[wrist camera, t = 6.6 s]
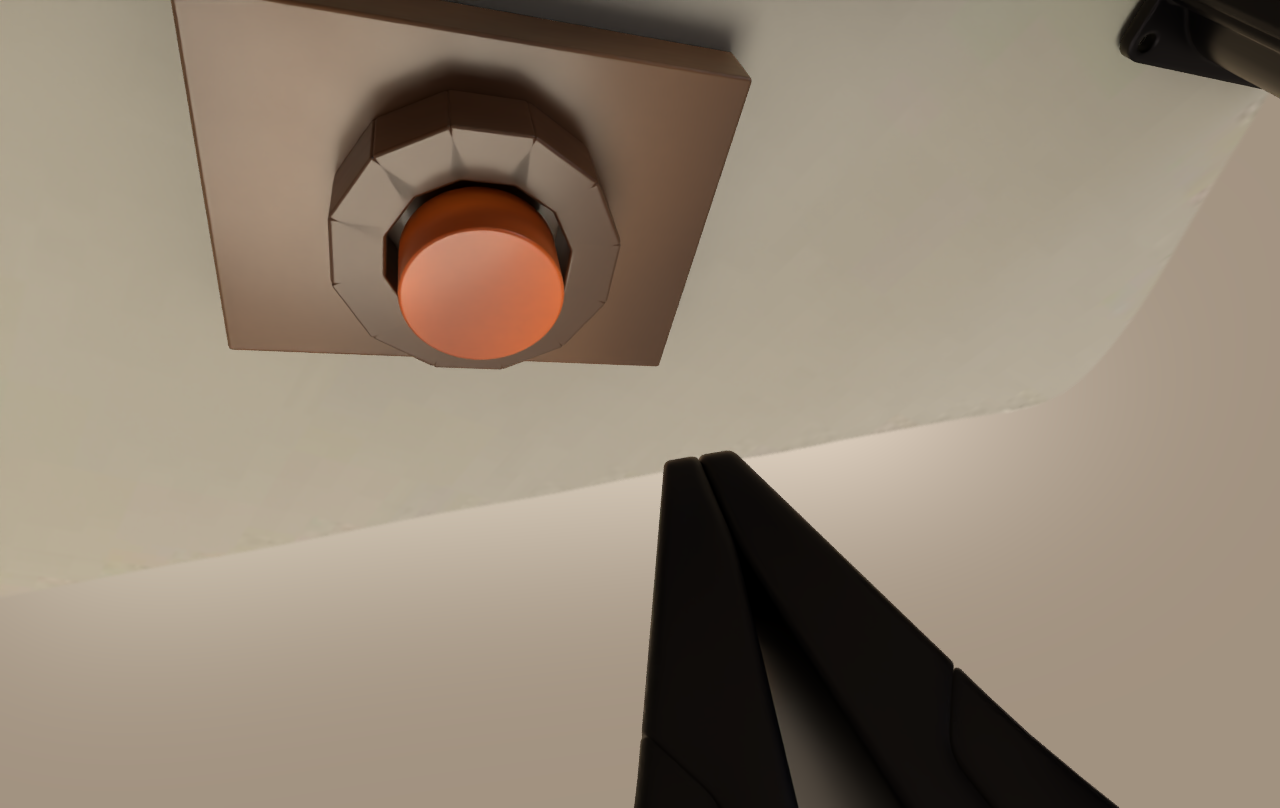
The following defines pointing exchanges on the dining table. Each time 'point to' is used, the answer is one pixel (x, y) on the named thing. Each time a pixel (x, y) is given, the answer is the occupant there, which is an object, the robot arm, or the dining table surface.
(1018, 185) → the dining table surface
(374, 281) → the button block
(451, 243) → the button
